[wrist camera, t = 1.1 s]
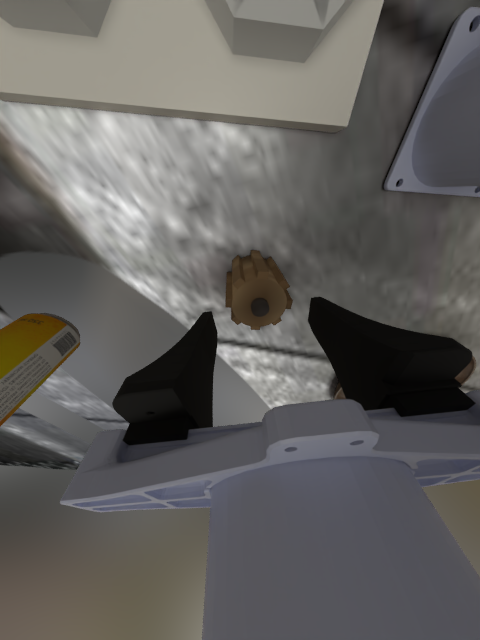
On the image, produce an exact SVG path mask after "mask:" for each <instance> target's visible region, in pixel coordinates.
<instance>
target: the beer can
mask: <svg viewBox="0 0 480 640" xmlns="http://www.w3.org/2000/svg"><path fill="white" fill-rule="evenodd" d="M79 345H80V334H79V332H78V330H77V328H76V327H75V326H74V325H73V324H71V323H70V322H69V321H67V320H65V319H63V318H61V317H59V316H56V315H52V314H47V313H41V314H27V315H24V316H22V317H21V318H19V319H17V320H16V321H14V322H12V323H11V324H9V325H7V326H6V327H4V328H2V329H1V330H0V426H1V425H2V424H3V423H4V422H5V421H6V420H7V419H8V418H9V417H10V416H11V415H12V414H13V413H14V412H15V411H16V410H17V409H18V408H19V407H20V406H21V405H22V404H23V403H24V402H25V401H26V400H27V399H28V398H29V397H30V396H31V394H33V393H34V392H35V391H36V390H37V389H38V388H39V387H40V386H41V385H42V384H43V383H44V382H45V381H46V379H47V378H48V377H49V376H50V375H51V374H52V373H53V372H54V371H55V370H56V369H57V368H58V367H59V366H60V365H61V364H62V363H63V362H64V361H65V360H66V359H67V358H68V357H69V356H70V355H71V354H72V353H73V352H74V351H75V350H76V349H77V348H78V347H79Z"/></svg>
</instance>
